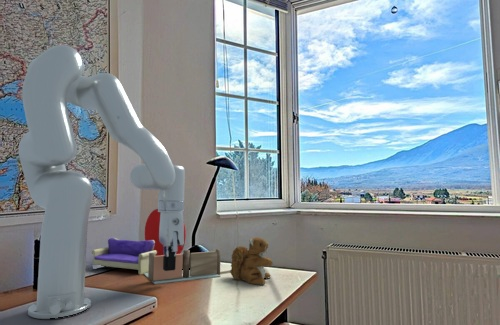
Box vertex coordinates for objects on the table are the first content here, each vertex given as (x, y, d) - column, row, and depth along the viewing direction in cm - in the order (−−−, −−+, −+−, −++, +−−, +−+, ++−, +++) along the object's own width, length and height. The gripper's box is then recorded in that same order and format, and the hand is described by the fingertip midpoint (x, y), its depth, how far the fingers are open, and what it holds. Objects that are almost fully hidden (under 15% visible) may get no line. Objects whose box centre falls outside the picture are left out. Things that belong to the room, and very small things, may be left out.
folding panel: (182, 277, 109) (183, 251, 109) (148, 281, 104) (149, 253, 104) (180, 276, 110) (181, 250, 111) (147, 280, 105) (148, 252, 106)
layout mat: (220, 276, 113) (220, 275, 113) (154, 284, 102) (154, 283, 102) (203, 267, 125) (203, 266, 125) (143, 274, 114) (143, 272, 114)
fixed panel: (221, 274, 115) (221, 248, 116) (183, 279, 109) (184, 251, 109) (218, 273, 117) (219, 247, 117) (181, 277, 110) (182, 250, 111)
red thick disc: (184, 262, 134) (186, 209, 136) (171, 264, 130) (173, 209, 131) (156, 255, 148) (157, 207, 149) (143, 256, 143) (145, 207, 145)
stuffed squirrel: (265, 286, 102) (266, 240, 103) (222, 281, 108) (223, 237, 109) (276, 278, 112) (276, 236, 113) (235, 274, 117) (236, 233, 118)
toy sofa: (89, 270, 120) (91, 239, 121) (107, 265, 128) (109, 236, 129) (141, 275, 113) (142, 243, 114) (157, 270, 121) (158, 240, 122)
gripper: (191, 208, 99) (190, 274, 98) (175, 205, 112) (173, 263, 111) (165, 208, 96) (163, 277, 94) (152, 205, 109) (149, 266, 107)
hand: (169, 269), depth 103 cm, fingers closed
